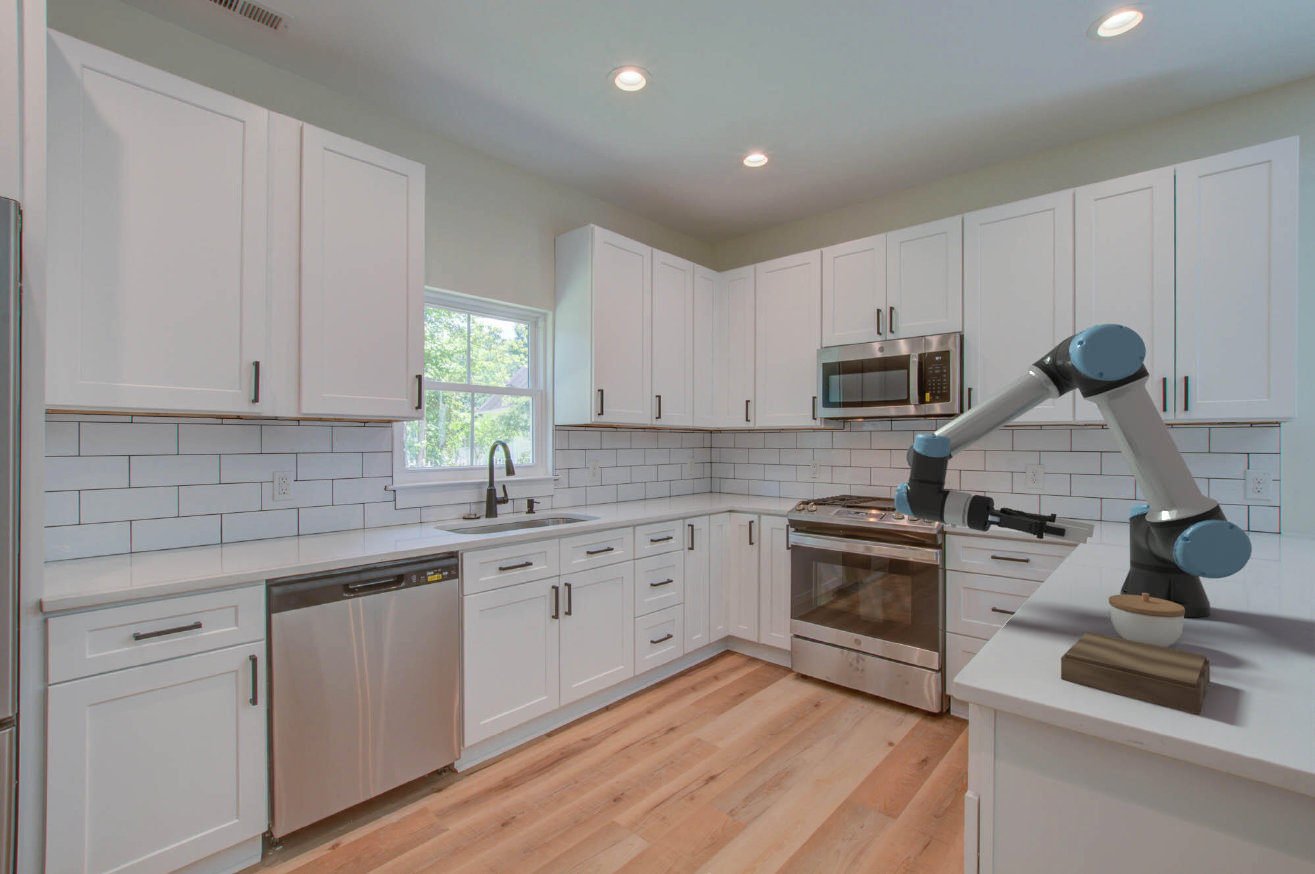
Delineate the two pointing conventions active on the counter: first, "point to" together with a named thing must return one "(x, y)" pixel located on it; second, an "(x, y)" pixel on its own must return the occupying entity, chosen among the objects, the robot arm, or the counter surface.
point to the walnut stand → (1138, 671)
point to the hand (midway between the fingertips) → (1090, 533)
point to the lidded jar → (1147, 619)
